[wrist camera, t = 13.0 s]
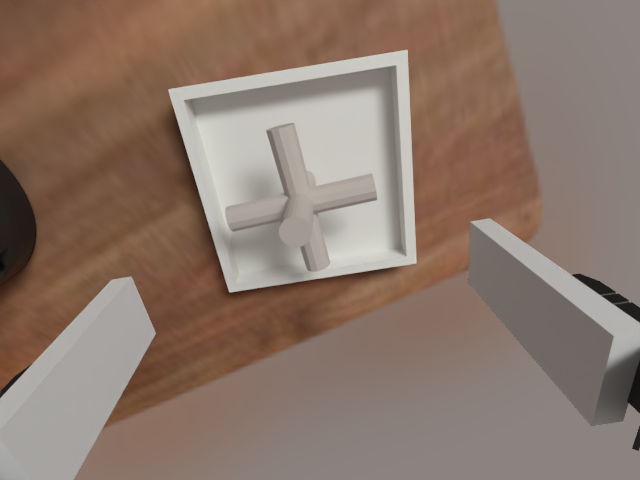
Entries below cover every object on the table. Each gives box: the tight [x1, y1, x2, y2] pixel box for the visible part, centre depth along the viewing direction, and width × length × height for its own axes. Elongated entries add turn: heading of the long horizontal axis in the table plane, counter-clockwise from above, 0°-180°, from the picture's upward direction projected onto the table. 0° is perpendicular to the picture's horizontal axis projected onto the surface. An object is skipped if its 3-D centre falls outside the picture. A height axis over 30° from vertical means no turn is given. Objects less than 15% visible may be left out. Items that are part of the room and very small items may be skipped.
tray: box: [168, 50, 416, 293], centre depth 28 cm, size 16×16×2 cm
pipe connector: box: [225, 123, 377, 272], centre depth 24 cm, size 10×10×10 cm
